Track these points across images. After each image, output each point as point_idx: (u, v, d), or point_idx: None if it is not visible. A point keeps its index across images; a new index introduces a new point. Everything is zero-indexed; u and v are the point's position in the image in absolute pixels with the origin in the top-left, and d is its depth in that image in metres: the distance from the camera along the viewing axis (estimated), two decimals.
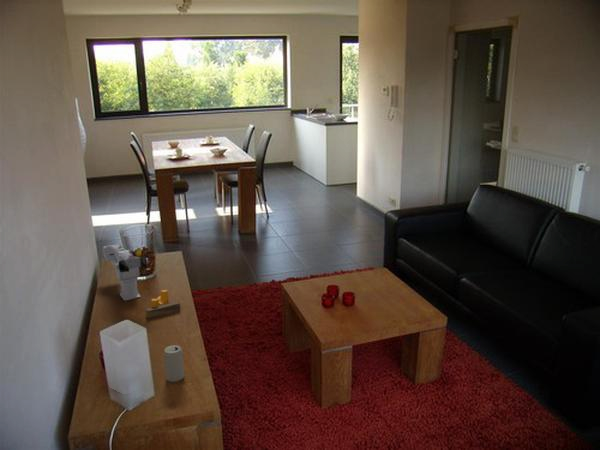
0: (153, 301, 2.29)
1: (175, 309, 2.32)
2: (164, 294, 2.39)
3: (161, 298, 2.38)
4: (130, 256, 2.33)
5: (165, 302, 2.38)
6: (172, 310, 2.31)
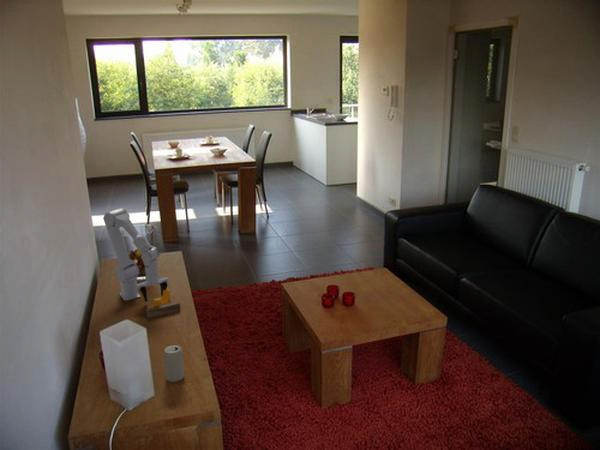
0: (155, 301, 2.29)
1: (175, 309, 2.32)
2: (166, 294, 2.39)
3: (163, 298, 2.38)
4: None
5: (167, 302, 2.39)
6: (172, 310, 2.31)
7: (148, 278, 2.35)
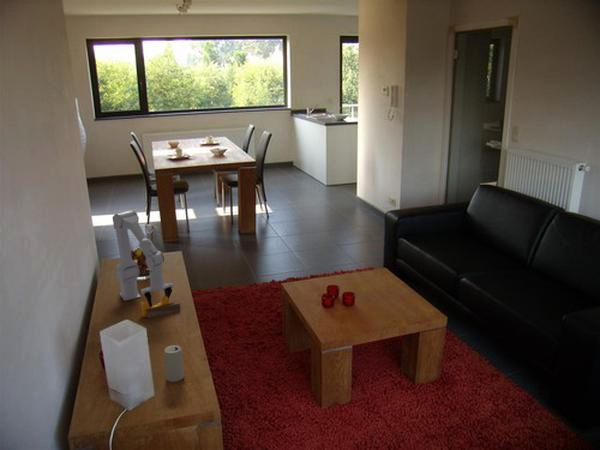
0: (141, 303, 2.27)
1: (175, 309, 2.32)
2: (163, 301, 2.31)
3: (160, 304, 2.32)
4: None
5: None
6: (172, 310, 2.31)
7: (153, 283, 2.30)
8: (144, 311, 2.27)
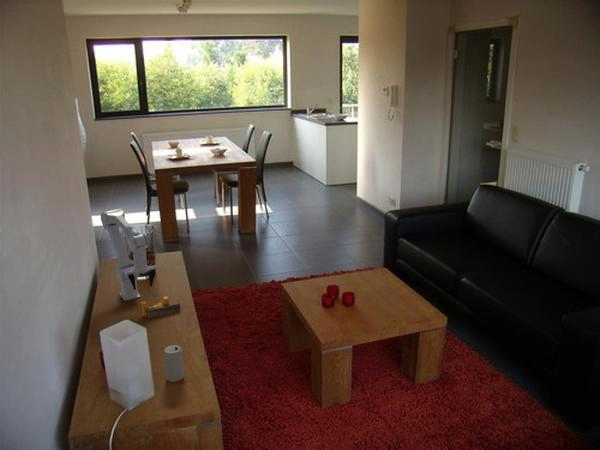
0: (141, 304, 2.27)
1: (175, 309, 2.32)
2: (163, 301, 2.31)
3: (160, 304, 2.32)
4: None
5: None
6: (172, 310, 2.31)
7: (136, 265, 2.30)
8: (144, 311, 2.27)
